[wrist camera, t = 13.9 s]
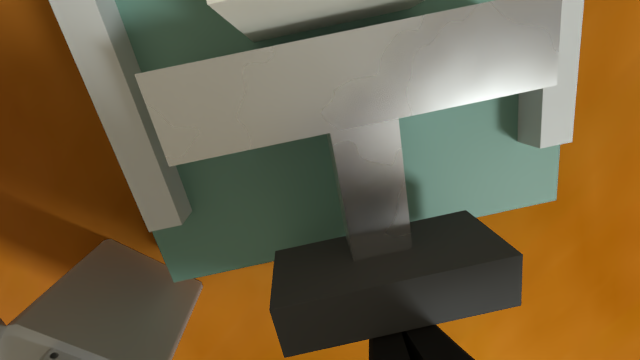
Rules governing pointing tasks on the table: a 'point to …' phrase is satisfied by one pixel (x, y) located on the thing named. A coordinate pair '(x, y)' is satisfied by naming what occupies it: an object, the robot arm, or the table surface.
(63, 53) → the table surface
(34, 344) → the lighter
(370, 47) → the ram
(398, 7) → the block
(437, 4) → the press
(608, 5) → the table surface
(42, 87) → the table surface
